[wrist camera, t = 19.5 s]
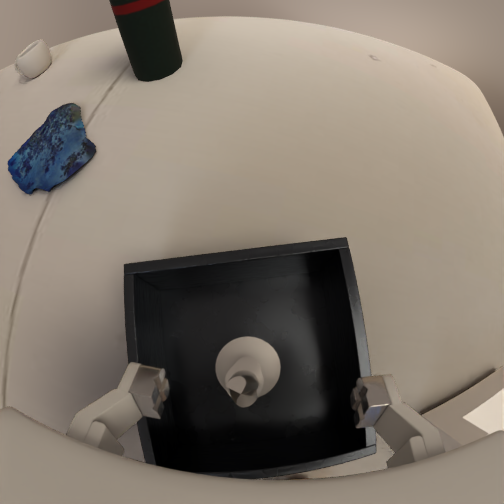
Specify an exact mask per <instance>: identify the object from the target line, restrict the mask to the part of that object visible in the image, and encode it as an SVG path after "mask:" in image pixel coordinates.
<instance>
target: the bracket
mask: <svg viewBox="0 0 504 504" xmlns="http://www.w3.org/2000/svg"><path fill="white" fill-rule="evenodd" d="M422 417H423V418H424V419H426V420H427V421H428V422H429V423H431V424H432V425H433V426H434V427H435V428H437V429H438V430H439V433H440V436H441V439H442V442H443V445H444V449H445V452H448V451H450V450H453V449H456V448H458V447H461V446H464V445H466V444H468V443H471V442H473V441H476V440H478V439H480V438H482V437H485V436H487V435H489V434H491V433H493V432H495V431H498V430H504V367H500V368H499V369H498V370H496V371H495V372H494V373H492V374H491V375H489V376H488V377H486V378H485V379H483V380H482V381H480V382H479V383H477V384H476V385H474V386H473V387H471V388H469V389H468V390H466V391H465V392H463V393H461V394H460V395H458V396H456V397H454V398H453V399H451V400H449V401H447V402H446V403H444V404H442V405H440V406H438V407H436V408H434V409H432V410H430V411H428V412H426V413H424V414H422Z"/></svg>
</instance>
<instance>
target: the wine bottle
mask: <svg viewBox="0 0 504 504" xmlns="http://www.w3.org/2000/svg"><path fill="white" fill-rule="evenodd" d="M110 3H111V6H112V10H113V13H114V16H115V19H116V22H117V25H118V28H119V31H120V34H121V37H122V40H123V43H124V46H125V49H126V51H127V54H128V57H129V60H130V63H131V65H132V68H133V71H134V74H135V76H136V77H137V79H138V80H141V81H147V82H148V81H154V80H159V79H162V78H164V77H166V76H169V75H171V74H173V73H174V72H175V71H176V70H178V69H179V68H180V67H181V64H182V56H181V51H180V47H179V43H178V38H177V34H176V29H175V25H174V20H173V16H172V11H171V7H170V2H169V0H110Z"/></svg>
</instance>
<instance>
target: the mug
mask: <svg viewBox="0 0 504 504" xmlns="http://www.w3.org/2000/svg"><path fill="white" fill-rule="evenodd" d="M50 64H51V53H50V50H49V47H48V45H47V44H46V42H45V41H44V40H42V39H41V40H37V41H35V42H34V43H32V44H31V45H29V46H28V47H27V48H25V49H24V50H23V51H22V52H21V53H20V54H19V55H18V57H17V58H16V62H15V69H16V71H17V72H18V73H19V74H20V75H25V76H27V77H29V78H35V77H37V76H38V75H40V74H41V73H43V72H44V71H45V70H46V69H47V68H48V67H49V65H50ZM17 66H18V67H17ZM18 68H19V69H18Z"/></svg>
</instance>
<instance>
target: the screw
mask: <svg viewBox="0 0 504 504" xmlns="http://www.w3.org/2000/svg"><path fill="white" fill-rule="evenodd" d="M280 368H281V366H280V360H279V357H278V355H277V353H276V351H275V350H274V348H273V347H272V346H271V345H269V344H268V343H267V342H265V341H264V340H262V339H259V338H256V337H240V338H237V339H234V340H232V341H230V342H229V343H228V344H226V345H225V346H224V347H223V348H222V350H221V351H220V352H219V355H218V357H217V360H216V375H217V378H218V380H219V382H220V384H221V385H222V387H223V388H224V389H225V390H226V391H227V393H228V394H229V395H230V396H231V397H232V399H233V401H234V402H235V403H236V404H237V405H238V406H240V407H248V406H250V405H252V404H253V403H254V402H255V401H256V399H257V398H258V397H260V396H262V395H265V394H266V393H268V392H269V391H270V390H271V389H272V388H273V387H274V386H275V384H276V383H277V381H278V379H279V375H280Z"/></svg>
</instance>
